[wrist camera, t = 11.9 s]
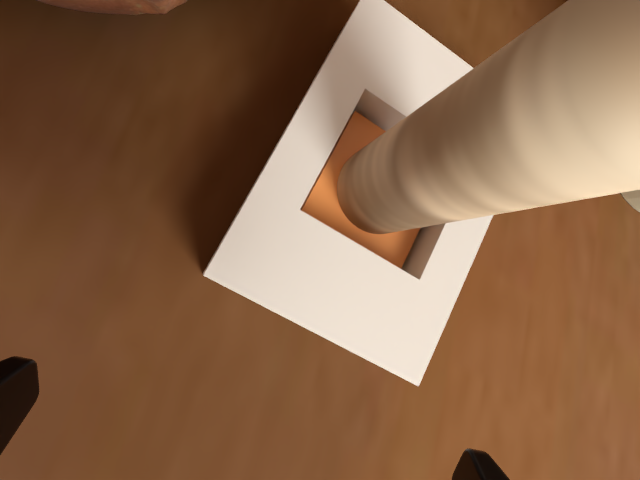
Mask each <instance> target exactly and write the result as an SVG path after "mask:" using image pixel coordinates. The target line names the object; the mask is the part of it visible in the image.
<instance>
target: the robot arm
mask: <svg viewBox="0 0 640 480" xmlns="http://www.w3.org/2000/svg"><path fill="white" fill-rule="evenodd" d="M38 394H39V381H38V370H37V363H36V362H35V361H34V360H32V359H28V358H23V357H18V356H14V357H10V358H7V359H5V360H2V361H0V455H1V453H2V452H3V450H4V449H5V447H6V446H7V444H8V443H9V441H10V440H11V438H12V437H13V435H14V434H15V432H16V431H17V429H18V428H19V426H20V425H21V423H22V422H23V420H24V419H25V417H26V416H27V414H28V413H29V411H30V409H31V408H32V406H33V405H34V403H35V402H36V400H37V397H38ZM452 480H510V479H509V478H508V477H507V476H506V474H505V473H504V472H503V471H502V470H501V468H500V467H499V466H498V465H497V464H496V463H495V461H494V460H493V459H492V458H491V457H490V455H489V454H487V453H486V452H484V451H479V450H474V449H466V450H465V451H464V452H463V454H462V456H461V458H460V460H459V462H458V464H457V467H456V469H455V471H454V473H453V476H452Z"/></svg>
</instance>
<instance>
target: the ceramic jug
mask: <svg viewBox="0 0 640 480" xmlns="http://www.w3.org/2000/svg"><path fill="white" fill-rule="evenodd" d="M36 1H39V2H43V3H45V4H49V5H53V6H57V7H61V8H66V9H71V10H76V11H83V12H90V13H101V14H126V15H139V14H144V13H148V14H166V13H167V12H168V11H170V10H172V9H173V8H174V7H176V6H179V5H181V4H183V3H185V2H186V1H188V0H36Z"/></svg>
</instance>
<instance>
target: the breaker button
mask: <svg viewBox="0 0 640 480" xmlns="http://www.w3.org/2000/svg"><path fill="white" fill-rule="evenodd" d="M385 132H386V131H385V130H383V129H382V128H380V127H379V126H377V125H376V124H374V123H373V122H371V121H370V120H368V119H367V118H365V117H364V116H362V115H361V114H359V113H358V112H356V111H355V112H354V113H353V114H352V115H351V116H350V118H349V120H348V121H347V123H346V125H345V127H344V129H343V131H342V133H341V134H340V136H339V138H338V140H337V142H336V144H335V146H334V147H333V149H332V151H331V153H330V155H329V157H328V159H327V160H326V162H325V164H324V166H323V168H322V170H321V172H320V173H319V175H318V177H317V179H316V181H315V183H314V184H313V186H312V188H311V190H310V192H309V194H308V196H307V197H306V199H305V201H304V203H303V205H302V207H301V209H300V210H301V211H303V212H305V213H307V214H308V215H310V216H312V217H313V218H315V219H317V220H318V221H320V222H322V223H324V224H325V225H327V226H329V227H330V228H332V229H334V230H335V231H337V232H339V233H341V234H342V235H344V236H346V237H347V238H349V239H351V240H352V241H354V242H356V243H358V244H359V245H361V246H363V247H364V248H366V249H368V250H370V251H371V252H373V253H375V254H376V255H378V256H380V257H381V258H383V259H385V260H387V261H388V262H390V263H392V264H393V265H395V266H397V267H398V268H400V269H401V268H402V266H403V264H404V262H405V260H406V257H407V255H408V253H409V251H410V249H411V247H412V245H413V243H414V241H415V238H416V236H417V234H418V232H419V230H420V228H415V229H409V230H404V231H398V232H392V233H386V234H372V233H368V232H365V231H363V230H361V229H359V228H357V227H356V226H355V225H353V224H352V223H351V222H350V221H349V220H348V218H347V217H346V216H345V214H344V213H343V211H342V209H341V207H340V204H339V201H338V196H337V181H338V177H339V174H340V171H341V169H342V167H343V165H344V164H345V163H346V161H347V160H348V159H349V158H350V157H351V156H353V155H354V154H355V153H357V152H358V151H360V150H361V149H362V148H364V147H365V146H367V145H368V144H369V143H371V142H372V141H373V140H375V139H376V138H378V137H379V136H380V135H382V134H383V133H385Z"/></svg>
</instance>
